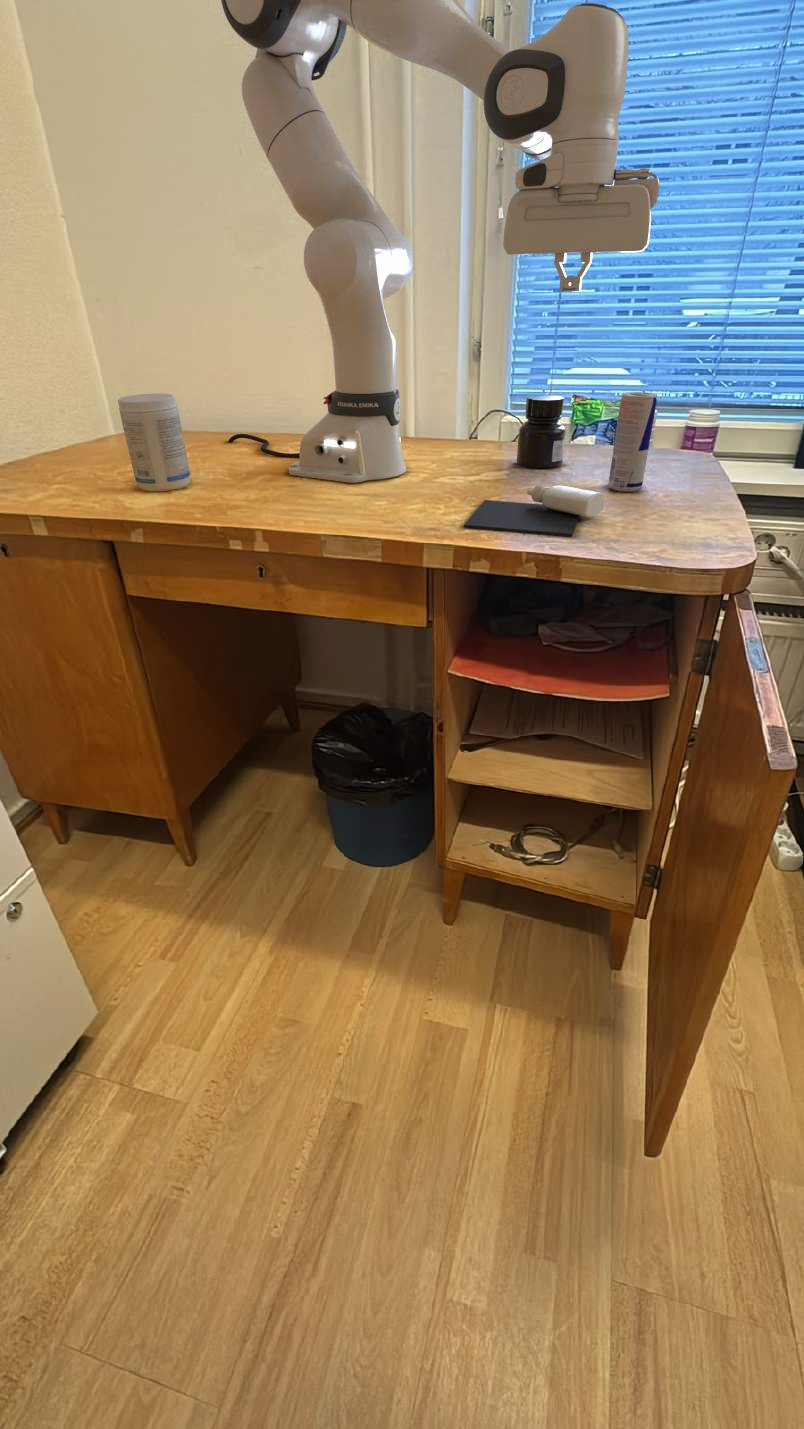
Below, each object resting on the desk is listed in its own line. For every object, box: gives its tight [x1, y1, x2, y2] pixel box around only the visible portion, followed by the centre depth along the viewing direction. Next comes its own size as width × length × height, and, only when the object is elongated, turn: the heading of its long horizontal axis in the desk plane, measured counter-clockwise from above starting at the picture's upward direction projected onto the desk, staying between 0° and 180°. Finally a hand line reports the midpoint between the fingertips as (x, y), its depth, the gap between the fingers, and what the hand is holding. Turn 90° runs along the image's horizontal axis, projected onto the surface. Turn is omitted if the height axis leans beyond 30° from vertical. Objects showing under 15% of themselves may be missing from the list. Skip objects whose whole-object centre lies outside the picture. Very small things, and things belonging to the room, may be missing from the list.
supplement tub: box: [117, 393, 192, 492], centre depth 119 cm, size 10×10×15 cm
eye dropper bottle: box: [527, 484, 606, 518], centre depth 105 cm, size 4×6×12 cm
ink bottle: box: [516, 394, 566, 469], centre depth 131 cm, size 10×9×12 cm
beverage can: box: [607, 391, 658, 493], centre depth 114 cm, size 6×6×15 cm
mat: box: [463, 499, 581, 538], centre depth 103 cm, size 16×14×1 cm
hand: (569, 291), depth 100 cm, fingers closed
